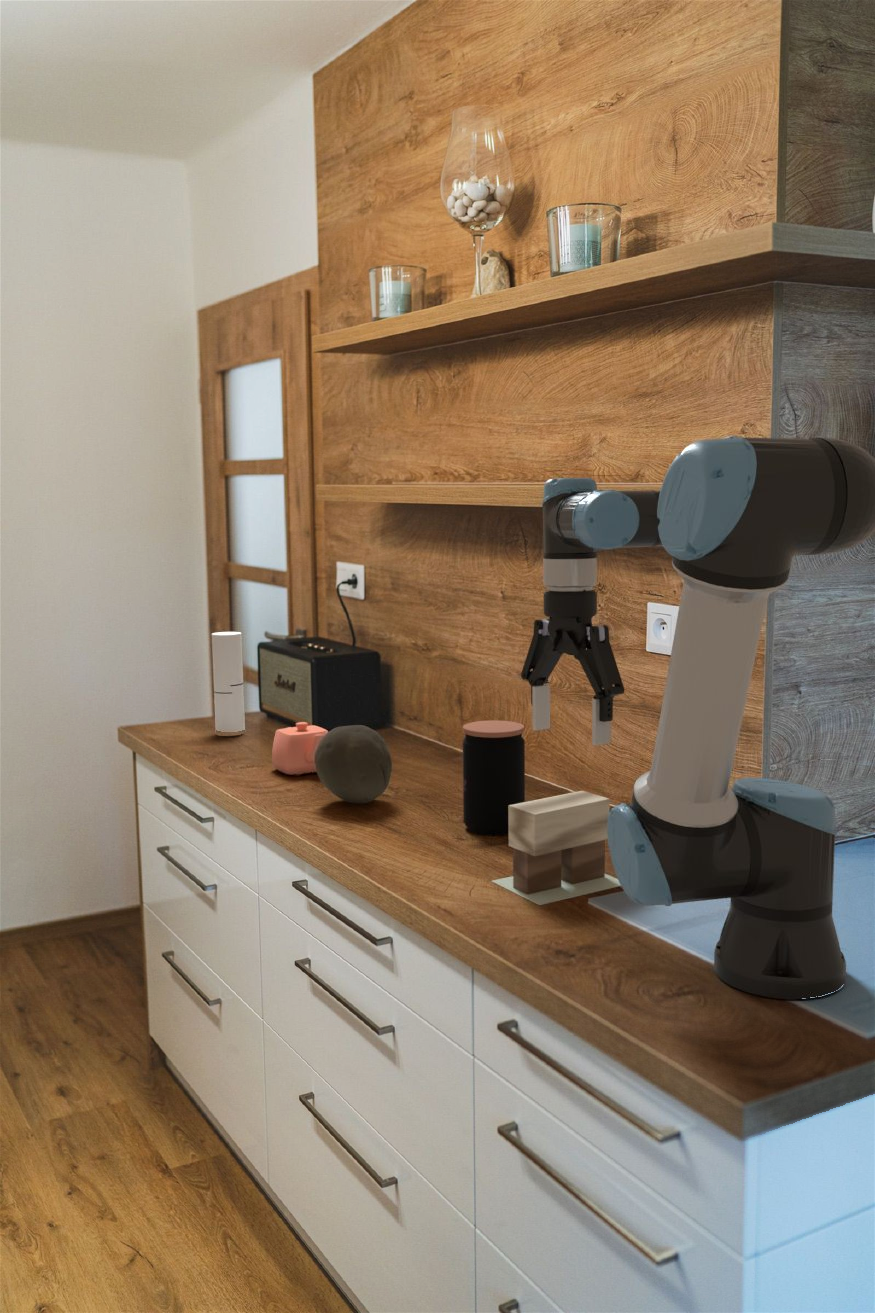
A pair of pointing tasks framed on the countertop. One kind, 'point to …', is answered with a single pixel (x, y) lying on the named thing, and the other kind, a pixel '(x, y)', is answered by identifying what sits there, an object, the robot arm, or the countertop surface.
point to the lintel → (558, 822)
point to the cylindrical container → (228, 681)
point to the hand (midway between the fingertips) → (570, 736)
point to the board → (562, 889)
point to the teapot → (296, 748)
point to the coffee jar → (492, 774)
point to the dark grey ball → (354, 763)
